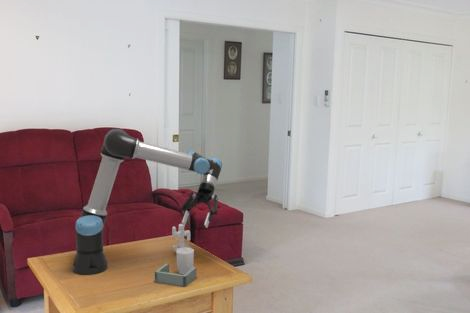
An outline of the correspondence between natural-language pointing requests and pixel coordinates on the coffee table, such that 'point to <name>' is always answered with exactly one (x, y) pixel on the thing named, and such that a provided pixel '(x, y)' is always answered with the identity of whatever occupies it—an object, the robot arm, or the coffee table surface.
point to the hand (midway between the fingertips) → (194, 224)
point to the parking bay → (174, 276)
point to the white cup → (185, 260)
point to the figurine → (180, 237)
